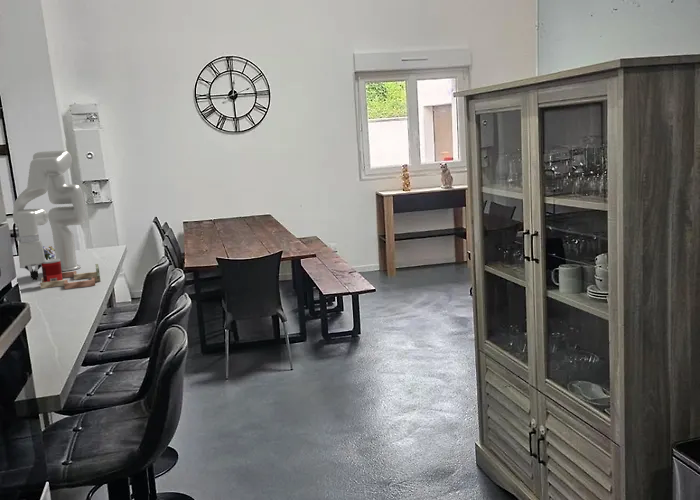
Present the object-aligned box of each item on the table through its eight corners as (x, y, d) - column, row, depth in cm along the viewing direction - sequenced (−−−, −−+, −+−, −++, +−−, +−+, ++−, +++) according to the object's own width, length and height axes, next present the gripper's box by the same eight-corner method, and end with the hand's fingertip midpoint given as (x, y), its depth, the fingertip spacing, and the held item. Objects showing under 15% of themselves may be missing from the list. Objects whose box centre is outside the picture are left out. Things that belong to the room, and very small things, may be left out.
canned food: (67, 282, 294) (64, 258, 292) (53, 286, 286) (50, 262, 284) (53, 282, 296) (50, 258, 294) (40, 286, 289) (37, 262, 287)
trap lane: (39, 292, 276) (38, 278, 275) (43, 279, 303) (41, 267, 302) (101, 284, 285) (99, 271, 284) (99, 273, 312) (97, 261, 311)
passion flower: (54, 271, 352) (56, 255, 345) (31, 270, 347) (33, 254, 340) (54, 257, 360) (56, 241, 353) (32, 256, 355) (34, 240, 348)
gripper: (9, 242, 279) (15, 283, 282) (47, 238, 284) (53, 279, 287) (11, 239, 286) (17, 280, 289) (48, 236, 291) (53, 276, 294)
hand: (35, 279), depth 288 cm, fingers closed
